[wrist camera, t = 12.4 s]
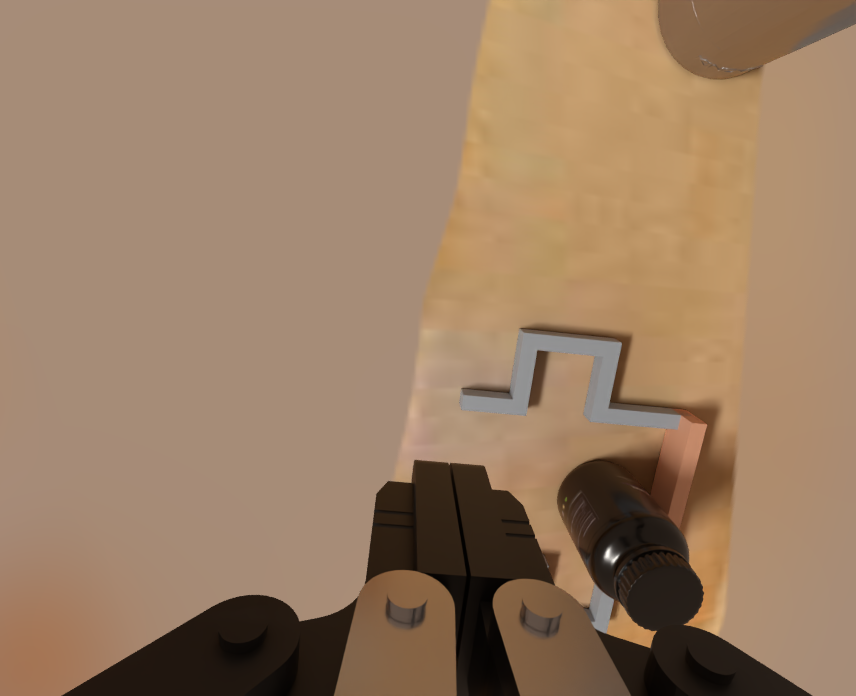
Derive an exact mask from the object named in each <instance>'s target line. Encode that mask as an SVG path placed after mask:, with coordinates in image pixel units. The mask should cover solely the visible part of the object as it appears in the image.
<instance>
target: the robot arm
mask: <svg viewBox="0 0 856 696" xmlns="http://www.w3.org/2000/svg"><path fill="white" fill-rule="evenodd" d="M658 18H659V24H660V30H661V34H662V37H663V39H664V42H665V44H666V47H667V48H668V50H669V51H670V53H671V54H672V56H673V57H674V59H675V60H676V61H677V62H678V63H679V64H680V65H682V66H683V67H684V68H685V69H687V70H688V71H690V72H692V73H694V74H696V75H698V76H702V77H706V78H709V79H726V78H730V77H735V76H739V75H741V74H743V73H745V72H748V71H750V70H753V69H756V68H759V67H761V66H763V65H764V64H766V63H768V62H771V61H773V60H775V59H777V58H780V57H782V56H784V55H787V54H789V53H791V52H793V51H796V50H798V49H801V48H803V47H805V46H807V45H809V44H812V43H814V42H816V41H818V40H821V39H823V38H825V37H827V36H829V35H832V34H834V33H836V32H838V31H841V30H843V29H845V28H848V27H850V26H852V25H854V24H856V0H658ZM62 696H812V695H810V694H809V693H807V692H806V691H804V690H803V689H801V688H799V687H797V686H796V685H795V684H793V683H792V682H790V681H788V680H787V679H785V678H783V677H782V676H781V675H779V674H777V673H776V672H774V671H773V670H771V669H769V668H768V667H766V666H765V665H763V664H761V663H760V662H758V661H757V660H755V659H754V658H752V657H750V656H749V655H747V654H746V653H744V652H743V651H741V650H740V649H738V648H736V647H735V646H733V645H732V644H730V643H728V642H727V641H725V640H723V639H722V638H720V637H718V636H716V635H714V634H712V633H710V632H707V631H705V630H702V629H699V628H695V627H692V626H686V625H669V626H666V627H663V628H661V629H660V630H658V631H657V632H656V634H655V635H654V637H653V640H652V644H651V648H648V647H645V646H642V645H639V644H636V643H632V642H629V641H626V640H623V639H620V638H617V637H614V636H611V635H608V634H606V633H603V632H601V631H599V630H597V629H595V628H594V626H593V625H592V623H591V621H590V619H589V617H588V615H587V614H586V612H585V610H584V609H583V607H582V606H581V605H580V604H579V603H578V601H577V600H576V599H574V598H573V597H572V596H571V595H570V594H568V593H567V592H565V591H564V590H562V589H560V588H559V587H557V586H555V584H554V582H553V579H552V577H551V574H550V572H549V569H548V567H547V564H546V562H545V559H544V557H543V554H542V552H541V549H540V547H539V544H538V542H537V539H535V534H534V532H533V529H532V527H531V525H529V519H528V517H527V514H526V512H525V509H524V507H523V505H522V504H521V503H520V502H519V501H518V500H517V499H516V498H515V497H514V496H513V495H512V494H510V493H509V492H508V491H503V490H492V488H491V485H490V482H489V479H488V475H487V472H486V469H485V467H484V466H481V465H469V464H458V463H450V465H449V464H448V463H445V462H433V461H421V460H414V465H413V473H412V482H411V483H404V482H392V481H388V482H387V483H386V484H385V485H384V486H383V487H382V488H381V490H380V491H379V492H378V493H377V494H376V502H375V510H374V518H373V526H372V534H371V543H370V551H369V559H368V567H367V575H366V581H365V585H364V586H363V588H362V590H361V591H360V593H359V596H358V597H357V598H356V599H355V600H354V601H353V602H352V603H351V604H350V605H348V606H347V607H345V608H344V609H342V610H340V611H338V612H336V613H333V614H331V615H328V616H324V617H320V618H315V619H310V620H305V621H300V622H299V619H298V617H297V615H296V613H295V612H294V610H293V609H292V608H291V607H290V606H289V605H287V604H286V603H284V602H283V601H281V600H278V599H276V598H273V597H269V596H263V595H246V596H239V597H236V598H232V599H229V600H226V601H223V602H221V603H219V604H217V605H215V606H213V607H211V608H209V609H208V610H206V611H204V612H203V613H201V614H199V615H198V616H196V617H194V618H192V619H191V620H189V621H187V622H186V623H184V624H183V625H181V626H179V627H177V628H176V629H174V630H172V631H171V632H169V633H167V634H165V635H164V636H162V637H160V638H159V639H157V640H155V641H154V642H152V643H151V644H148V645H147V646H145V647H143V648H142V649H140V650H138V651H137V652H135V653H133V654H132V655H130V656H128V657H126V658H125V659H123V660H121V661H120V662H118V663H116V664H115V665H113V666H111V667H110V668H108V669H106V670H104V671H103V672H101V673H99V674H98V675H96V676H94V677H93V678H91V679H89V680H87V681H86V682H84V683H83V684H81V685H79V686H77V687H76V688H74V689H72V690H71V691H69V692H67V693H65V694H64V695H62Z"/></svg>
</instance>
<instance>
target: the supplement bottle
mask: <svg viewBox="0 0 856 696" xmlns="http://www.w3.org/2000/svg"><path fill="white" fill-rule="evenodd" d="M557 505H558V510H559V513H560V516H561V518H562V520H563V522H564V524H565V526H566V528H567V530H568V532H569V534H570V536H571V538H572V540H573V542H574V544H575V546H576V548H577V550H578V552H579V554H580V556H581V558H582V560H583V562H584V564H585V566H586V568H587V570H588V572H589V574H590V576H591V578H592V580H593V581H594V583H595V584H596V586H597V587H598V588H599V589H600V590H601V591H602V592H603V593H604V594H605V595H607V596H608V597H610V598H612V599H614V600H616V601H618V602H620V603H621V605H622V606H623V607H624V608H625V610H626V612H627V614H628V615H629V616H630V617H631V619H632V620H633V621H634V622H635V623H637V624H638V625H639V626H641V627H643V628H644V629H649V630H651V631H658V630H660V629H661V628H663V627H666V626H669V625H684V624H686V623H688V622H689V620H691V619H692V618H694V616H695V614H697V613H698V610H699V608H700V607H701V603H702V601H703V595H704V592H703V586H702V584H701V581H700V579H699V578H698V576H697V575H696V573H695V572H694V571H693V569H692V568H691V566H690V565H689V549H688V545H687V542H686V539H685V537H684V535H683V534H682V532H681V531H680V530H679V528H678V527H677V526H676V525H675V523H674V522H673V521H672V520H671V519H670V518H669V516H668V515H667V514H666V513H665V512H664V511H663V510H662V508H661V507H660V506H659V505H658V504H657V503H656V502H655V500H654V499H653V498H652V497H651V496H650V495H649V494H648V492H647V491H646V490H645V489H644V488H643V487H642V485H641V484H640V483H639V482H638V481H637V480H636V479H635V478H634V477H633V475H632V474H631V473H630V472H629V471H627V470H626V469H625V468H623V467H622V466H620V465H618V464H615V463H612V462H608V461H593V462H589V463H585V464H583V465H581V466H579V467H577V468H575V469H574V470H573V471H572V472H570V473H569V474H568V475H567V476H566V478H565V479H564V481H563V482H562V484H561V486H560V488H559V492H558V497H557Z"/></svg>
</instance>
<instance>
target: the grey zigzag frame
mask: <svg viewBox="0 0 856 696" xmlns="http://www.w3.org/2000/svg"><path fill="white" fill-rule="evenodd" d="M621 346H622V342H620V341H618V340H616V339H615V338H607V337H598V336H588V335H578V334H568V333H559V332H549V331H539V330H529V329H520V328H519V335H518V341H517V347H516V354H515V360H514V366H513V373H512V379H511V385H510V391H509V393H504V392H493V391H483V390H472V389H461V395H460V402H459V403H460V407H461V410H468V411H479V412H489V413H500V414H511V415H522V416H526V414H527V408H528V402H529V396H530V390H531V385H532V379H533V373H534V367H535V361H536V355H537V350H541V351H550V352H560V353H570V354H580V355H590V356H595V358H594V363H593V368H592V374H591V379H590V384H589V389H588V394H587V399H586V404H585V409H584V414H583V415H584V416H585V417H586V418H587V419H588V420H589V421H590V422H598V423H609V424H620V425H631V426H642V427H653V428H664V429H666V432H665V436H664V440H663V444H662V448H661V452H660V456H659V460H658V465H657V469H656V473H655V477H654V481H653V485H652V489H651V493H650V496H651V497H652V498H653V499H654V500H655V502H656V503H657V504H658V505H659V506H660V507H661V508H662V510H663V511H664V512H665V513H666V514H667V515H668V516H669V518H670V519H671V520H672V521H673V522H674V523H675V525H676V526H677V527H678V528H679V530H680V526H681V522H682V518H683V515H684V511H685V507H686V503H687V500H688V496H689V492H690V488H691V484H692V481H693V477H694V473H695V469H696V466H697V462H698V458H699V454H700V451H701V447H702V443H703V439H704V435H705V432H706V428H707V424H706V423H705V422H703V421H702V420H700V419H699V418H697V417H696V416H694V415H693V414H691V413H690V412H688V411H687V410H684V409H673V408H663V407H652V406H641V405H631V404H620V403H610V398H611V393H612V388H613V384H614V379H615V374H616V369H617V365H618V360H619V355H620V351H621ZM543 557H544V559H545V562H546V564H547V567H549V566H548V563H547V561H546V558H545V556H544V554H543ZM613 603H614V599H612V598H610V597H608V596H607V595H605V594H604V593H603V592H602V591H601V590H600V589H599V588H598V587H597V586H596V584H595V585H594V589H593V594H592V598H591V603H590V607H589V609H586V608H583V609H584V610H585V612H586V614H587V615H588V617H589V619H590V621H591V623H592V625H593V626H594V628H595V629H597V630H599V631H601V632H603V633H606V632H607V628H608V624H609V620H610V615H611V611H612V607H613Z"/></svg>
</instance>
